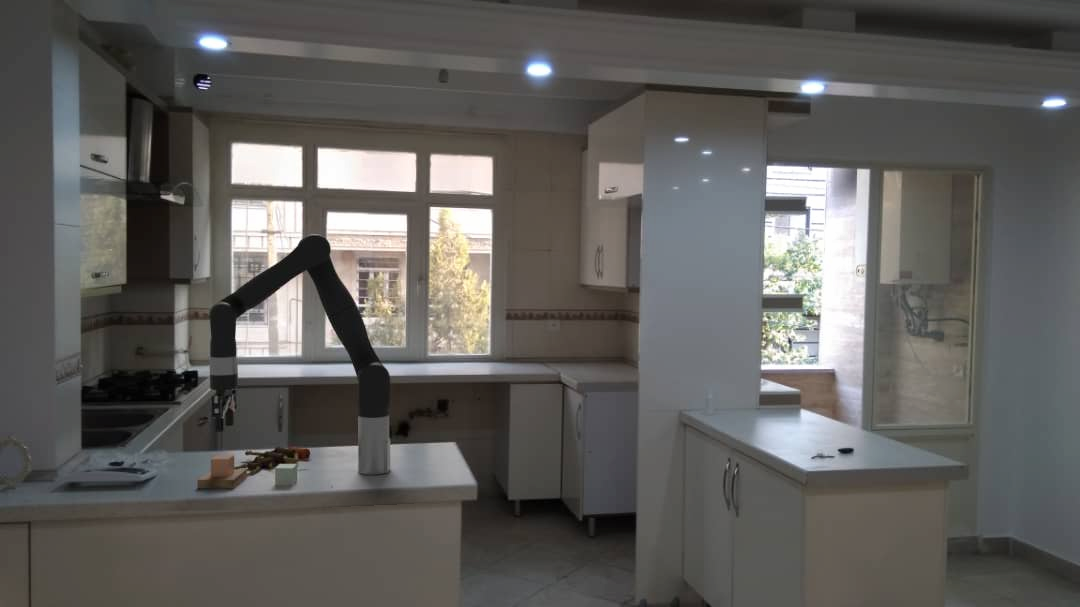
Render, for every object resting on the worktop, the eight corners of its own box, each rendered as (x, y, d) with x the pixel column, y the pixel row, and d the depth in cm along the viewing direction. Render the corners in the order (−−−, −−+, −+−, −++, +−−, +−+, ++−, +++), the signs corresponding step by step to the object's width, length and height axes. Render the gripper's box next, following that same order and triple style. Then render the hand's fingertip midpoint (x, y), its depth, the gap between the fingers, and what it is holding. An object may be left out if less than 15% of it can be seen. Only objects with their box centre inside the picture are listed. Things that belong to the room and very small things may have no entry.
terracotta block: (234, 472, 244) (234, 455, 244) (228, 476, 239) (228, 459, 239) (216, 472, 244) (216, 455, 244) (210, 476, 239) (210, 459, 239)
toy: (261, 494, 244) (333, 461, 269) (259, 475, 243) (331, 444, 269) (199, 482, 256) (274, 452, 282) (197, 464, 256) (272, 436, 281)
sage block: (297, 480, 245) (297, 463, 245) (292, 485, 240) (292, 468, 240) (279, 481, 245) (279, 464, 245) (275, 485, 240) (275, 468, 240)
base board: (246, 477, 248) (246, 469, 248) (233, 488, 236) (233, 479, 236) (212, 477, 248) (212, 469, 247) (197, 488, 236) (197, 479, 235)
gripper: (228, 375, 233) (230, 433, 234) (244, 368, 247) (245, 423, 248) (201, 375, 233) (202, 433, 234) (219, 369, 247) (220, 423, 248)
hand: (224, 428), depth 241 cm, fingers open, 8 cm apart
